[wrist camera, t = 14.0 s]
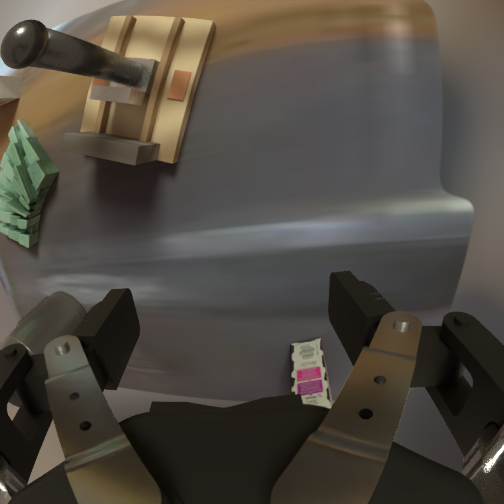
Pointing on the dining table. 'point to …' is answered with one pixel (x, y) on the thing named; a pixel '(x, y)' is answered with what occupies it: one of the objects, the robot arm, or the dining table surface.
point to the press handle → (79, 61)
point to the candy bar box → (310, 373)
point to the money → (24, 185)
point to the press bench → (155, 104)
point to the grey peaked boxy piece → (9, 89)
